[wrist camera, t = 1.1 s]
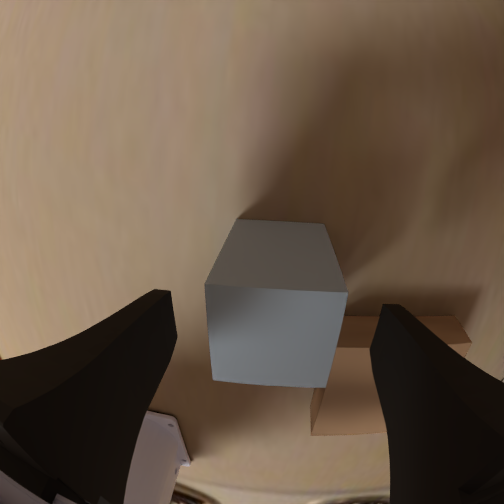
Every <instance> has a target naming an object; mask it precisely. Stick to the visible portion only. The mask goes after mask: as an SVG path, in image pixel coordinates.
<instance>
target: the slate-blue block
mask: <svg viewBox="0 0 504 504" xmlns="http://www.w3.org/2000/svg"><path fill="white" fill-rule="evenodd" d="M347 297H348V290H347V287H346V284H345V281H344V278H343V275H342V272H341V269H340V266H339V263H338V260H337V258H336V255H335V252H334V249H333V246H332V244H331V241H330V238H329V236H328V233H327V230H326V227H325V225H324V224H319V223H303V222H287V221H268V220H248V219H236V221H235V223H234V225H233V227H232V229H231V231H230V233H229V235H228V237H227V239H226V241H225V243H224V245H223V247H222V249H221V251H220V253H219V255H218V257H217V259H216V261H215V264H214V266H213V268H212V270H211V272H210V274H209V276H208V278H207V280H206V282H205V298H206V311H207V324H208V335H209V347H210V357H211V367H212V377H213V380H216V381H224V382H233V383H243V384H254V385H267V386H284V387H310V388H326V384H327V381H328V377H329V374H330V370H331V366H332V362H333V358H334V355H335V351H336V347H337V342H338V338H339V334H340V330H341V325H342V321H343V316H344V312H345V307H346V302H347Z"/></svg>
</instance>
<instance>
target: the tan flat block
mask: <svg viewBox="0 0 504 504" xmlns="http://www.w3.org/2000/svg"><path fill="white" fill-rule="evenodd" d="M379 317H380V316H343V321H342V325H341V330H340V334H339V338H338V342H337V347H336V351H335V355H334V358H333V362H332V366H331V370H330V374H329V377H328V381H327V384H326V388H315V389H314V393H313V397H312V401H311V405H310V413H311V436H327V435H357V434H372V433H383V432H387V430H386V424H385V420H384V416H383V412H382V408H381V404H380V400H379V396H378V393H377V389H376V385H375V381H374V377H373V373H372V366H371V358H370V350H369V349H370V346H371V343H372V340H373V337H374V334H375V330H376V327H377V324H378V320H379ZM415 317H416V318H417V319H418V320H419V321H420V322H421V323H423V324H424V325H425V326H426V327H427V328H428V329H429V330H431V331H432V332H433V333H434V334H435V335H436V336H438V337H439V338H440V339H441V340H442V341H444V342H445V343H446V344H447V345H448V346H450V347H451V348H452V349H453V350H455V351H456V352H457V353H459V354H460V355H461V356H462V357H464V358H465V356H466V354H467V352H468V350H469V348H470V346H471V344H472V342H471V340H470V338H469V337H468V335H467V334H466V332H465V331H464V329H463V328H462V326H461V325H460V323H459V322H458V320H457V319H456V317H455V316H454V315H451V316H415Z"/></svg>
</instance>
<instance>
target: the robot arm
mask: <svg viewBox="0 0 504 504" xmlns="http://www.w3.org/2000/svg"><path fill="white" fill-rule="evenodd" d="M176 341H177V331H176V324H175V318H174V311H173V304H172V297H171V291H167V290H158V289H154V290H152V291H150V292H148V293H146V294H145V295H143V296H141V297H140V298H138V299H137V300H135V301H133V302H132V303H130V304H129V305H127V306H126V307H124V308H122V309H121V310H119V311H118V312H116V313H114V314H113V315H111V316H110V317H108V318H106V319H104V320H103V321H101V322H99V323H97V324H96V325H94V326H92V327H90V328H89V329H87V330H85V331H83V332H81V333H79V334H77V335H75V336H73V337H71V338H68V339H66V340H64V341H62V342H59V343H57V344H54V345H52V346H49V347H46V348H43V349H40V350H38V351H35V352H32V353H28V354H25V355H21V356H17V357H13V358H9V359H4V360H0V504H169V503H170V500H171V496H172V493H173V489H174V486H175V483H176V479H177V476H178V472H179V469H180V466H181V465H183V466H190V465H191V461H190V459H189V456H188V453H187V450H186V447H185V444H184V441H183V438H182V435H181V432H180V429H179V426H178V423H177V420H176V418H174V417H173V416H169V415H165V414H160V413H155V412H151V411H147V409H148V407H149V405H150V403H151V401H152V399H153V396H154V394H155V392H156V390H157V388H158V386H159V384H160V382H161V379H162V377H163V375H164V373H165V371H166V369H167V367H168V364H169V362H170V360H171V357H172V354H173V351H174V347H175V344H176ZM369 350H370V358H371V366H372V373H373V377H374V381H375V385H376V389H377V393H378V396H379V400H380V404H381V408H382V412H383V416H384V420H385V424H386V430H387V435H388V445H389V457H390V504H504V383H503V382H502V381H500V380H498V379H496V378H494V377H492V376H491V375H489V374H488V373H486V372H484V371H483V370H481V369H480V368H478V367H477V366H475V365H474V364H472V363H471V362H469V361H468V360H467V359H465V358H464V357H462V356H461V355H460V354H459V353H457V352H456V351H455V350H453V349H452V348H451V347H450V346H448V345H447V344H446V343H445V342H444V341H442V340H441V339H440V338H439V337H438V336H436V335H435V334H434V333H433V332H432V331H431V330H429V329H428V328H427V327H426V326H425V325H424V324H423V323H421V322H420V321H419V320H418V319H417V318H416V317H415V316H413V315H412V314H411V313H410V312H409V311H407V310H406V309H405V308H404V307H402V306H401V305H399V304H383V306H382V310H381V314H380V317H379V320H378V324H377V327H376V330H375V334H374V337H373V340H372V343H371V346H370V349H369Z"/></svg>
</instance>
